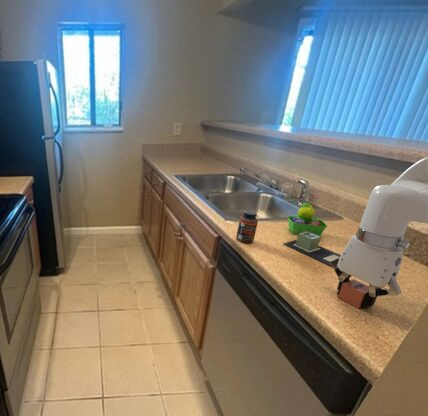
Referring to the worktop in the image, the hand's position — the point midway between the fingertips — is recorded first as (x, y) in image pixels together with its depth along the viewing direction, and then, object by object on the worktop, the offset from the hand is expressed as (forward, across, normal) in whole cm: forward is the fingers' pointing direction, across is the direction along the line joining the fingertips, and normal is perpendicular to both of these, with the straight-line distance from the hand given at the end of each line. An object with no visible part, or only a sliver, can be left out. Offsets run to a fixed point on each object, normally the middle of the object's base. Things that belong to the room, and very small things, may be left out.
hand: (353, 299), depth 71 cm
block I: (0, 0, 0) cm, 0 cm away
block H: (0, +23, -17) cm, 29 cm away
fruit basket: (+1, +32, -29) cm, 43 cm away
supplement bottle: (+1, +36, -2) cm, 36 cm away
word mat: (0, +18, -17) cm, 25 cm away
